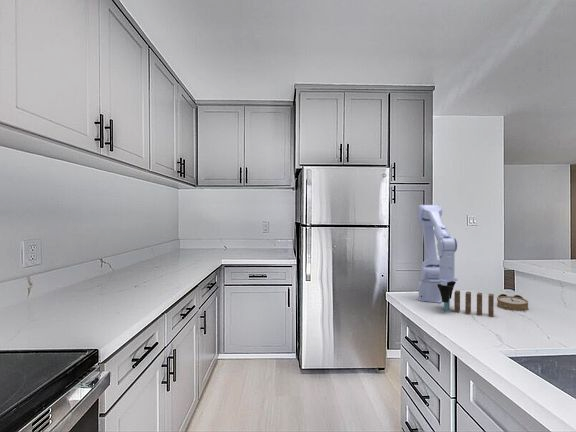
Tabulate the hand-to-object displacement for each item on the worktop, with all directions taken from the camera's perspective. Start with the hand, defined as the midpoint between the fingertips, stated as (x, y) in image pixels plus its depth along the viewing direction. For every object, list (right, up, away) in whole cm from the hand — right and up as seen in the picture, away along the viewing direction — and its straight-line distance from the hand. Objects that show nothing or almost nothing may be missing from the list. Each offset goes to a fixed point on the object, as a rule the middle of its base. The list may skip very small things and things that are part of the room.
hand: (446, 300), depth 152 cm
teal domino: (0, -4, 0) cm, 4 cm away
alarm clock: (+30, -5, +6) cm, 31 cm away
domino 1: (+3, -4, -2) cm, 6 cm away
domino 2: (+7, -4, -4) cm, 9 cm away
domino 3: (+10, -4, -6) cm, 13 cm away
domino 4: (+14, -4, -8) cm, 16 cm away
